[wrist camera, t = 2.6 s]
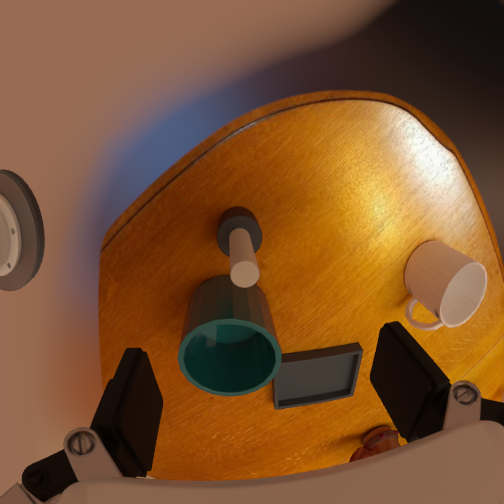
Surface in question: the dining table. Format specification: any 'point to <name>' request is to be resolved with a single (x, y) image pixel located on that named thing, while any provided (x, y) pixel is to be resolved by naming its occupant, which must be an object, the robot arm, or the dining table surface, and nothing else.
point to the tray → (316, 376)
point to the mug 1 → (376, 443)
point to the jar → (229, 339)
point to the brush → (240, 244)
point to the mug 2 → (444, 284)
